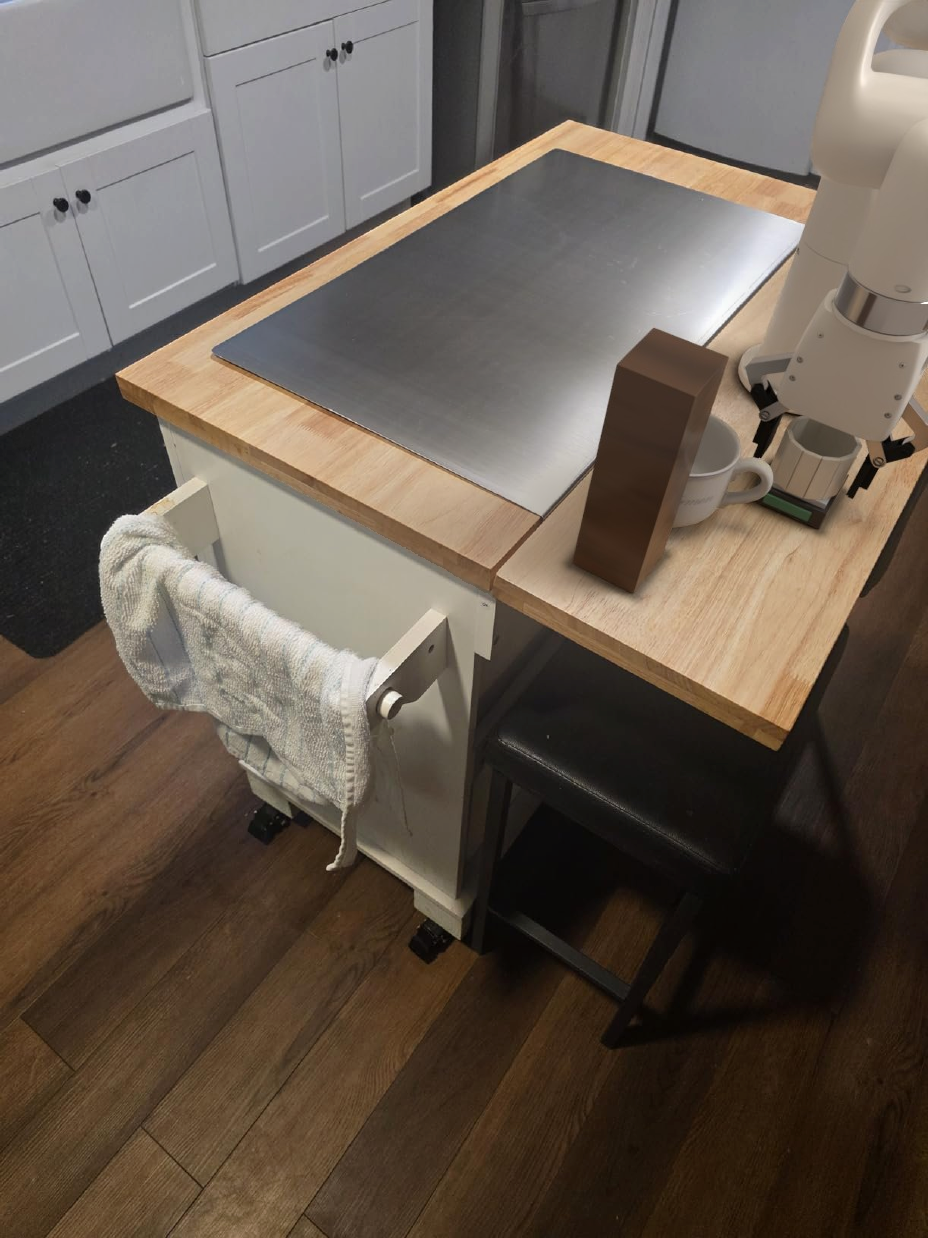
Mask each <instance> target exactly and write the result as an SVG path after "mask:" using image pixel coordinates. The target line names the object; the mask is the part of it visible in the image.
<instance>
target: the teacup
mask: <svg viewBox="0 0 928 1238" xmlns="http://www.w3.org/2000/svg"><path fill="white" fill-rule="evenodd" d="M742 450H743V447H742V443H741V439H740V437H739V435H738V433H737V432H736V431H735V429H734V428H733V427H732V426H731V425H730V424H728V423H727V422H726V421H724V419H722V418H720V417H719V416H717V415H715V414H713V413H710V416H709V419H708V422H707V425H706V428H705V431H704V434H703V437H702V440H701V443H700V446H699V449H698V452H697V454H696V457H695V460H694V463H693V466H692V469H691V472H690V475H689V478H688V481H687V484H686V487H685V490H684V493H683V496H682V499H681V502H680V505H679V508H678V511H677V514H676V517H675V520H674V523H673V526H672V529H674V528H675V529H677V528H681V527H687V526H692V525H696V524H698V523H700V522H702V521H704V520H706V519H708V518H709V517H710V516H711V515H713V513H714V512H715V511H716V510H717V509H718V510H724V509H726V508H727V507H729V506H734V505H742V504H749V503H752V502H755V500H758V499H760V498H762V497H763V496H765V495H766V494H767V493H768V492H769V490H770V489H771V486H772V484H773V472H772V469H771V467H770V466H769V464H768V462H766V461H765V460H764V459H762V458H755V457H744V458H741V457H742ZM747 472H753V473H755V474H756V475H758V476H759V478H760V477H761V480H762V481H761V483H760V484H759V485H758V486H756V485H755V486H756V487H755V486H754V487H752V488H749V489H745V490H739V491H728V488H729V485H730V483H732V482H734V481H735V480H736V479H737V478H738V477H739V476H740V475H741V474H743V473H747Z"/></svg>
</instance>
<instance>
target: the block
mask: <svg viewBox="0 0 928 1238" xmlns="http://www.w3.org/2000/svg"><path fill="white" fill-rule="evenodd" d="M729 360H730V356H728V355H726V354H723V353H721V352H718V351H716V350H713V349H710V348H708V347H705V346H703V345H700V344H697V343H695V342H692V341H690V340H687V339H684V338H682V337H679V336H677V335H674V334H672V333H669V332H666V331H664V330H661V329H659V328H656V327H653V328H652V329H650V330H649V331H648V333H646V335H645V336H643V338H642V339H641V340H640V341H638V342H637V344H636V345H634V346H633V347H632V348H631V349H630V350H629V352H627V353H626V354H625V355H624V356H623V357H622V358H621V359H620V360H619V362H617V364H616V366H615V370H614V374H613V379H612V384H611V388H610V393H609V397H608V400H607V401H608V402H607V406H606V411H605V414H604V418H603V419H604V420H603V424H602V429H601V432H600V437H599V441H598V446H597V451H596V454H595V458H594V459H595V460H594V464H593V468H592V473H591V476H590V481H589V485H588V491H587V494H586V500H585V504H584V508H583V511H582V512H583V513H582V517H581V521H580V526H579V531H578V536H577V539H576V544H575V548H574V553H573V557H572V562H571V563H572V564H573V565H575V566H577V567H579V568H581V569H583V570H585V571H587V572H589V573H590V574H593V575H595V576H597V577H599V578H601V579H603V580H606V581H607V582H609V583H611V584H613V585H615V586H617V587H619V588H621V589H623V590H625V591H627V592H629V593H631V594H635V592H636V591H637V590H638V588H639V587H640V586H641V584H642V583H643V582H644V580H645V579H646V577H648V575H649V573H650V572H651V571H652V569H653V568H654V567H655V565H656V564H657V562H658V561H659V560H660V558H661V557H662V556H663V554H664V553H665V549H666V546H667V544H668V541H669V538H670V534H671V532H672V529H673V528H672V526H673V523H674V520H675V517H676V514H677V511H678V508H679V505H680V502H681V499H682V496H683V493H684V490H685V487H686V484H687V481H688V478H689V475H690V472H691V469H692V466H693V463H694V460H695V457H696V454H697V452H698V449H699V446H700V443H701V440H702V437H703V434H704V431H705V428H706V425H707V422H708V419H709V416H710V413H711V412H712V409H713V407H714V403H715V401H716V398H717V395H718V392H719V389H720V386H721V383H722V379H723V378H724V374H725V371H726V368H727V365H728V362H729ZM711 414H712V413H711Z"/></svg>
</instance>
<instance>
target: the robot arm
mask: <svg viewBox="0 0 928 1238" xmlns="http://www.w3.org/2000/svg"><path fill="white" fill-rule="evenodd" d="M881 31H882V32H883V34H884V35H885V37H886V38H887V39H888V40H890V41H891V42H893V43H895V44H897V45H899V46H901V47H906V48H900V49H899V48H898V49H897V48H896V49H889V50H883V51H880V52H877V53H875V49H876V46H877V42H878V39H879V36H880V34H881ZM809 149H810V161H811V164H812V167H813V169H814V170H815V172H816V174H818V175H819V176H820V180H819V183H818V187H817V189H816V193H815V195H814V198H813V201H812V205H811V207H810V210H809V213H808V216H807V218H806V221H805V224H804V226H803V230H802V233H801V235H800V238H799V241H798V242H797V243H798V244H797V246H796V249H795V252H794V254H793V258H792V259H791V263H790V265H789V268H788V271H787V274H786V276H785V279H784V282H783V285H782V287H781V290H780V293H779V295H778V296H779V297H778V298H777V301H776V304H775V306H774V310H773V311H772V314H771V317H770V320H769V323H768V326H767V328H766V332H765V333H764V334H765V335H764V337H763V339H762V342H761V343H758V344H755V345H753V346H751V347H749V348H748V349H747V350H746V351H744V353H743V355H742V356H741V358H740V360H739V364H738V367H737V370H738V371H737V374H738V377H739V380H740V381H741V383H742V385H743V386H744V388H745V389H746V390H747V391H748V392H749V393H750V396H751V397H752V400H753V401H754V403H755V405H756V407H757V409H758V414H757V415H758V418H759V420H760V421H759V423H758V426H757V428H756V431H755V433H754V436H753V438H752V440H751V442H752V443H753V444H756V445H757V446H756V448H755V450H754V453H753V455H752V458H759V459H762V458H763V457H764V455H765V454H766V452H767V451H768V449H769V448H770V446H771V445H772V443H773V441H774V438H775V436H776V434H777V431H778V429H779V426H780V424H781V422H782V419H783V417H784V414H785V413H790V414H794V415H800V416H806V417H808V418H811V419H813V420H815V421H818V422H820V423H823V424H825V425H828V426H830V427H833V428H835V429H838V430H840V431H843V432H845V433H848V434H850V435H853V436H855V437H858V438H859V439H860V440H863V441H865V445H866V448H867V452H868V453H867V454H866V457H865V459H864V460H863V461H862V464H861V466H860V468H859V470H858V471H857V473H856V475H855V477H854V479H853V481H852V483H851V485H850V486H849V488H848V490H847V492H846V494H845V496H847V498H849V499H851V500H854V498H855V497H856V495H857V493H858V492H859V489H860V488H861V489H863V490H865V491H868V489H869V488H870V486H871V484H872V482H873V480H874V479H875V477H876V475H877V473H878V472H879V470H880V469H881V468H884V467H885V466H886V465H887V464H889V463H894V462H897V461H901V460H905V459H909V458H911V457H912V456H913V455H914V454H916V453H918V452H921V451H923V450H925V449H927V448H928V412H927V411H926V410H925V409H924V407H922V405H921V404H920V402H919V401H918V400H917V399H916V398H915V396H914V394H915V392H916V390H917V388H918V386H919V384H920V381H921V379H922V377H923V375H924V373H925V372H926V369H927V367H928V0H855V1H854V2H853V5H852V6H851V8H850V10H849V12H848V14H847V16H846V18H845V20H844V22H843V24H842V26H841V28H840V30H839V34H838V36H837V39H836V42H835V44H834V47H833V51H832V54H831V58H830V61H829V66H828V69H827V73H826V77H825V81H824V84H823V89H822V92H821V96H820V100H819V103H818V107H817V111H816V115H815V119H814V123H813V128H812V134H811V140H810V148H809ZM901 418H902V419H903V420H904V422H905V423H906V425H907V426H908V427H909V428H910V430H912V432H913V434H912V435H909V436H904V437H901V438H898V439H894V438H893V433H892V432H893V431H894V429H895V428H896V426H897V425H898V424H899V421H900V420H901Z"/></svg>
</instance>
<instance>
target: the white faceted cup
mask: <svg viewBox="0 0 928 1238" xmlns="http://www.w3.org/2000/svg"><path fill="white" fill-rule="evenodd" d="M862 447H863V445H862V442H861V438H858V437H855V436H853V435H850V434H848V433H845V432H843V431H840V430H838V429H835V428H833V427H830V426H828V425H825V424H823V423H820V422H818V421H815V420H813V419H811V418H808V417H806V416H803V415H800V416H796V417H793V418H792V419H791V421H789V424H787V426H786V428H785V431H784V432H783V435H782V437H781V440H780V442H779V444H778V447H777V450H776V452H775V454H774V456H773V459H772V460H773V461H772V460H771V461H772V463H771V462H770V463H771V466H770V467H771V469H772V472H773V479H774V481H775V482H776V483H777V484H779V485H780V486H781V487H782V488H783V489H784V490H786V491H787V492H789V493H791V494H794V495H796V496H798V497H801V498H803V497H804V499H814V500H821V499H822V500H824V499H827V498H830V497H832V496H835V495H837V493H838V491H839V490H840V488H841V486H842V484H843V482H844V481H845V479H846V477H847V475H848V474H849V473H850V471H851V469H852V467H853V465H854V463H855V462H856V459H857V458H858V455H859V454H860V451H861V449H862Z"/></svg>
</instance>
